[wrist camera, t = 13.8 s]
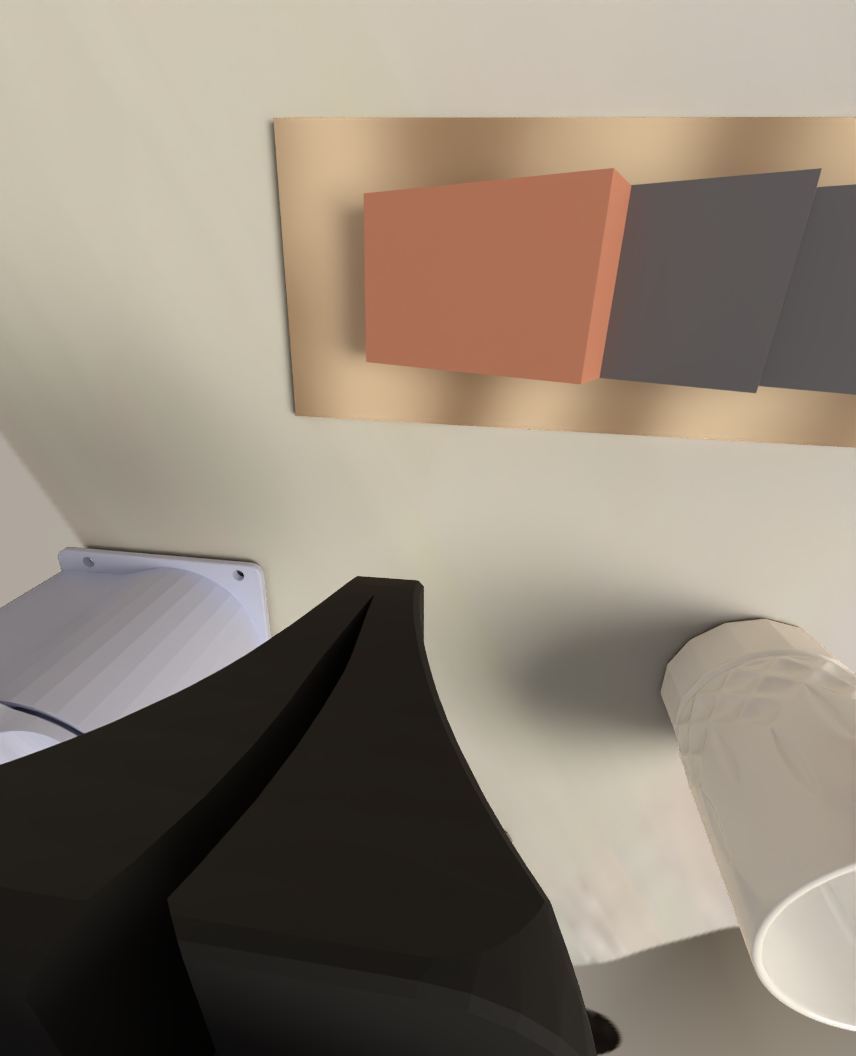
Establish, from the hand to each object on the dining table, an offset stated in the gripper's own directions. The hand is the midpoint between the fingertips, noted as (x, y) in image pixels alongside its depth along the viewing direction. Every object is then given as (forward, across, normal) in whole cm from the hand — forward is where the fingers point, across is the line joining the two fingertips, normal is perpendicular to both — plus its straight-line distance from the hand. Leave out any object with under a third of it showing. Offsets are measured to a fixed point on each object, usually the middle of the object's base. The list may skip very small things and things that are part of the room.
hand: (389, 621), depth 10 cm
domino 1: (+9, -2, -6) cm, 11 cm away
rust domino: (+9, +2, -6) cm, 11 cm away
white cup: (+11, -13, +9) cm, 19 cm away
